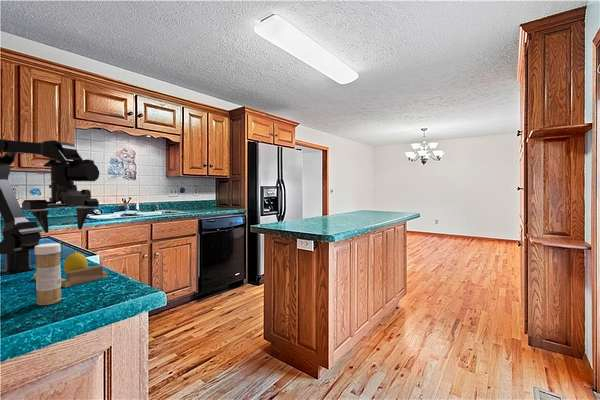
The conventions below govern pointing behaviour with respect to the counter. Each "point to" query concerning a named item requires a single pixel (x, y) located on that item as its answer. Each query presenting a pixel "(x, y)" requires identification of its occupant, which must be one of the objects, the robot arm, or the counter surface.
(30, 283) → the counter surface
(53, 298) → the sprinkles bottle
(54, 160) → the robot arm
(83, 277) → the channel
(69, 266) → the lemon
